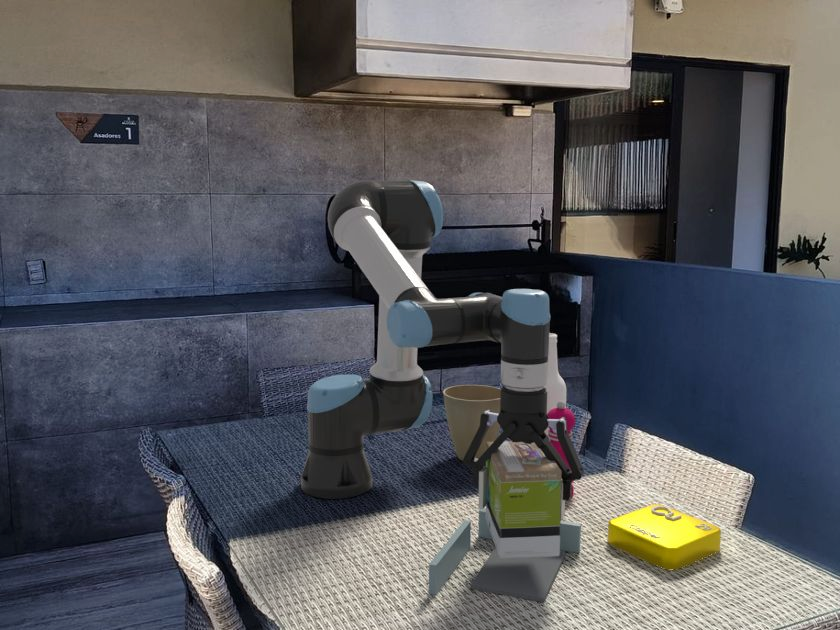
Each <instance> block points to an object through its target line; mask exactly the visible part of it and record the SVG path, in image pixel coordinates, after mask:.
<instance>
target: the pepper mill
mask: <svg viewBox="0 0 840 630" xmlns="http://www.w3.org/2000/svg"><path fill="white" fill-rule="evenodd" d="M547 416H548V418H549V419H560V418H562V417H564V418H566V420H567V432H568V434H569V437H570V439H571V440H572V439H573V431H572V429H574V427H575V425H576V417H575V414H574V413H573V412H572V410H570V409H568V408H567V407H566V408H565V403H564V402H563V401H558V402H557V408H554V409H552V410H550V411H549V412H548V414H547ZM548 428H549V429H550V430H548V438H549V439H550V442H551V444H552V445H553V446H554V448H555V449H556V450H557V452H558V453H559V455H560V456H561V457H562V459H563V460H564V462H565V463H566V464H567V466H568V467H569V469H570V466H569V464H568V462H567V459H566V457H565V455H564V452H563V450H562V448H561V445H560V443H559V440H558V437H557V433H554V432H553V430H552V428H551V427H548ZM570 470H571V469H570ZM575 481H576V480H573V481H572V495H571V497H570V498H572V497H573V496H574V492H575V489H574V488H575V486H574V485H573V483H574V482H575Z"/></svg>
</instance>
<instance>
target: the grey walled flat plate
mask: <svg viewBox="0 0 840 630" xmlns="http://www.w3.org/2000/svg"><path fill="white" fill-rule="evenodd" d="M471 525H472V521H471V520H466V519H465V520H463V521H462V522H461V524H460V525H459V526H458V527H457V529H456V530H455V531H454V533H452V535H451V536H450V538H449V539H448V540H447V541H446V543H445V544H444V545H443V546H442V547H441V548H440V549H439V551H438V552H437V554H436V555H435V556H434V557H433V559H432V560H431V561H430V562H429V564H428V594H429V595H434V596H437V594H438V593H439V592H440V590H441V589H442V588H443V586H444V585H445V583H446V582H447V581H448V579H449V578H450V576H451V575H452V574H453V573H454V571H455V570H456V568H458V566H459V564H460V563H461V562H462V560H463V559H464V557H465V556H466V555H467V553H468V552H469V550H470V549H471V539H472V538H471V536H472V535H471V534H472V533H471V532H472V531H471V530H472V529H471V528H472V526H471ZM581 531H582V523H580V522H579V523H578V522H575V521H574V522H573V521H572V522H571V521H566V520H562V521H561V522H560V551H562V552H570V553H576V554H580V551H581V535H582V534H581V533H582V532H581ZM478 537H479V538H483V539H490V540H493V538H492V535H491V533H490V530H489V527H488V524H487V520H486V508H484V509H478Z"/></svg>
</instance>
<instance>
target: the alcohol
mask: <svg viewBox="0 0 840 630" xmlns="http://www.w3.org/2000/svg"><path fill="white" fill-rule="evenodd" d="M557 343H558V334H556V333H553V332H552V333H551V332H549V351H548V384H547V385H546V386H545V387H546V389H547V414H548V412H549V411H550V410H552V409H554V408H557V402H558V401H563V402H564V403H565V408H566V409H567V385H566V382H565V381H564V379H563V378H562V376H561V375H560V373H559V368H558V347H557V345H558V344H557ZM548 430H550V429H549V428H548V427H547V429H546V430H545V431H544V432H545V433H546V435H547V436H548ZM549 441H550V439H549Z"/></svg>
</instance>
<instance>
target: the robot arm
mask: <svg viewBox="0 0 840 630" xmlns="http://www.w3.org/2000/svg"><path fill="white" fill-rule="evenodd" d="M443 212H444V211H443V205H442V202H441V199H440V196H439V195H438V192H437V191H436V189H435V188H434V186H433V185H431V184H430V183H428V182H426V181H422V180H421V181H420V180H411V179H398V180H397V179H395V180H392V179H390V180H387V179H386V180H368V179H367V180H357V181H355V182H352V183H349V184H347V185H345V186H344V187H342V189H340V190H339V192H337V193H336V194H335V196H334V197H333V199H332V201H331V202H330V206H329V208H328V211H327V223H328V224H327V226H328V230H329V232H330V234H331V236H332V238H333V240H334V241H335V243H336V244H337V245H338V246H339V247H340V248H341V249H342V250H345V251H347V252H349V253H350V255H351V256H352V259H354V261H355V262H356V264H357V266H358V267H359V269H360V270H361V272H362V273H363V274H364V275H365V277H366V278H367V279H368V281H369V282H370V284H371V286H372V287H373V289H374V290H375V291H376V293H377V294H378V298H379V299H378V300H379V301H378V323H377V325H378V326H377V329H378V330H377V349H376V350H377V351H376V352H377V353H376V354H377V355H376V362H375V363H374V364H373V365H371V367H370V368H369V373H368V374H369V375H368V377H369V378H368V380H363V378H362V376H360V375H358V374H354V373H352V374H351V373H347V374H346V373H345V374H341V373H340V374H335V375H331V376H327V377H324V378H320V379H318V380H316V381H314V383H313V384H311V385H310V387H309V388H308V391H307V404H306V410H307V423H308V424H307V434H308V436H307V437H308V453H307V455H306V456H307V457H306V460H305V463H304V466H303V470H302V472H301V473H302V474H301V476H300V487H301V491H302V492H303V493H304V494H306V495H308V496H311V497H314V498H318V499H319V498H320V499H326V500H327V499H329V500H331V499H332V500H338V499H340V500H341V499H348V498H349V499H350V498H354V497H358V496H360V495H363V494H365V493H367V492H368V491H370V490H371V489H372V487H373V473H372V471H371V468H370V465H369V462H368V458H367V457H366V453H365V450H364V448H365V447H364V443H365V442H364V437H365V436H370V435H378V434H385V433H391V432H399V431H403V432H404V431H408V430H410V429H415V428H419V427H421V426H422V425H423V424H425V423H426V422H427V420H428V418H429V416H430V414H431V412H432V409H433V391H431V390H432V384H431V383H430V381H429V378H428V377H427V376H426V375H424V370H423V369H422V368H421V367H420V366H419V365H418V349H419V348H424V347H431V346H432V347H433V346H440V345H450V344H459V343H460V344H462V343H470V342H471V343H472V342H481V341H491V342H496V343H498V344H500V347H501V348H500V349H501V355H500V383H501V385H502V384H503V385H502V386H501V387H500V389H501V392H500V413H499V414H497V413H492V412H491V411H490V410H486V411H485V412H484V413H482V414H481V418H480V426H479V428H478V430H477V432H476V434H475V436H474V438H473V440H472V443H471V445H470V447H469V449H468V451H467V453H466V455H465V457H464V459H463V461H462V460H461V461H462V464H463V465H464V466H469V467H470V468H472V471H473V472H472V473H473V477H472V478H473V483H472V484H473V488H474V489H475V488H476V489H478V510H480V509H485V508H486V505H487V499H488V467H486V465H485V464H486V461H487V460H488V459H489V458H490V457H491V456H492V454H493V453H494V452H495V451H496V450H497V449H498V448H499V447H500V446H501V445H502V443H503V442H504V441H507V439H508V440H510V441H512V442H523V443H526V444H531V443H535V444H536V445H537V447H538V448H539V449H541V451H542V452H543V453H544V455H545V456H546V457H547V459H548V460H551V461H555V462H556V464H557V465H558V467H559V468H560V470H561V481H562V484H561V521H563V519H564V517H565V512H566V511H565V510H566V508H565V507H566V502H567V501H570V499H571V498H572V497H571V495H572V485H573V483H572V481H573V480H575V481H579V480H582V477H583V475H584V474H585V473H584V472H585V470H584V468H583V465H582V463H581V460H580V458H579V456H578V453H577V451H576V449H575V446H574V444H573V442H572V439H570V437H569V434H568V432H567V420H566V418H564V417H562V418H560V419H549V418H548V416H547V389H546V387H545V386H546V385H547V384H548V351H549V333H550V321H551V313H550V297H549V294H548V293H547V292H546V291H543V290H541V289H531V288H513V289H512V288H511V289H508V290H505V291H504V292H503V294H502V296H500V295H496V294H493V293H491V292H485V293H484V292H473V293H471V294H469V295H467V296H465V297H463V296H462V297H461V296H460V297H448V298H437V297H435V295H434V294H433V293H432V292H431V290H430V289H429V288H428V287H427V285H426V284H425V283H424V281H423V280H422V268H423V267H422V266H423V255H424V254H425V253H426V252H428V251H429V250H431V249H430V248H431V239H433V238H435V237H437V236H438V235H440V233H441V230H442V228H443V224H444V223H443V222H444V213H443ZM495 421H497V422H498V424H499V425H500V429H501V430H502V432H501V433H500V434H499V435H498V437H497V439H496V440H495V441H494V442H493V443H492V444H491V446H490V447H489V448H488V449H487V450H486V451H485V452H484V453H483V454H482V456H481V457H480V458H479V459H477V458H475V455H476V453H477V451H478V449H479V447H480V445H481V443H482V441H483V439H484V437H485V435H486V433H487V431H488V429H489V427H490V426H491V425H493V424H494V422H495ZM547 427H551V428H552V430H553V432H554V433H557V437H558V440H559V443H560V445H561V448H562V450H563V452H564V455H565V457H566V459H567V462H568V464H569V466H570V469H571V470H570V469H569V467H568V466H567V464H566V463H565V462H564V460H563V459H562V457H561V456H560V455H559V453H558V452H557V450H556V449H555V448H554V446H553V445H552V444H551V442H550V441H549V438H548V436H547V435H546V433H545V432H544V431H545V430H546V429H547ZM484 465H485V466H484Z"/></svg>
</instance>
